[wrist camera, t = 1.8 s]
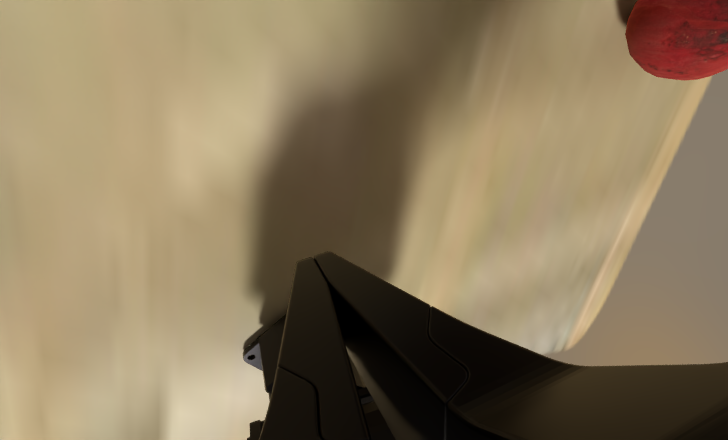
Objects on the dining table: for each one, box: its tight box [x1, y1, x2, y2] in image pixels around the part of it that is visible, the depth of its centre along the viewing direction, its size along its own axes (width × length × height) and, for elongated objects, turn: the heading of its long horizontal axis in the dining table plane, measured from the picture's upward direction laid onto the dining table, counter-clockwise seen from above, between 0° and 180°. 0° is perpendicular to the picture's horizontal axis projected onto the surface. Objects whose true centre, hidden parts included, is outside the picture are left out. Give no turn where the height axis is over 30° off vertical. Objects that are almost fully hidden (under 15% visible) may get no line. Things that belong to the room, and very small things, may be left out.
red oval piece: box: [625, 0, 728, 80], centre depth 20 cm, size 6×6×8 cm
